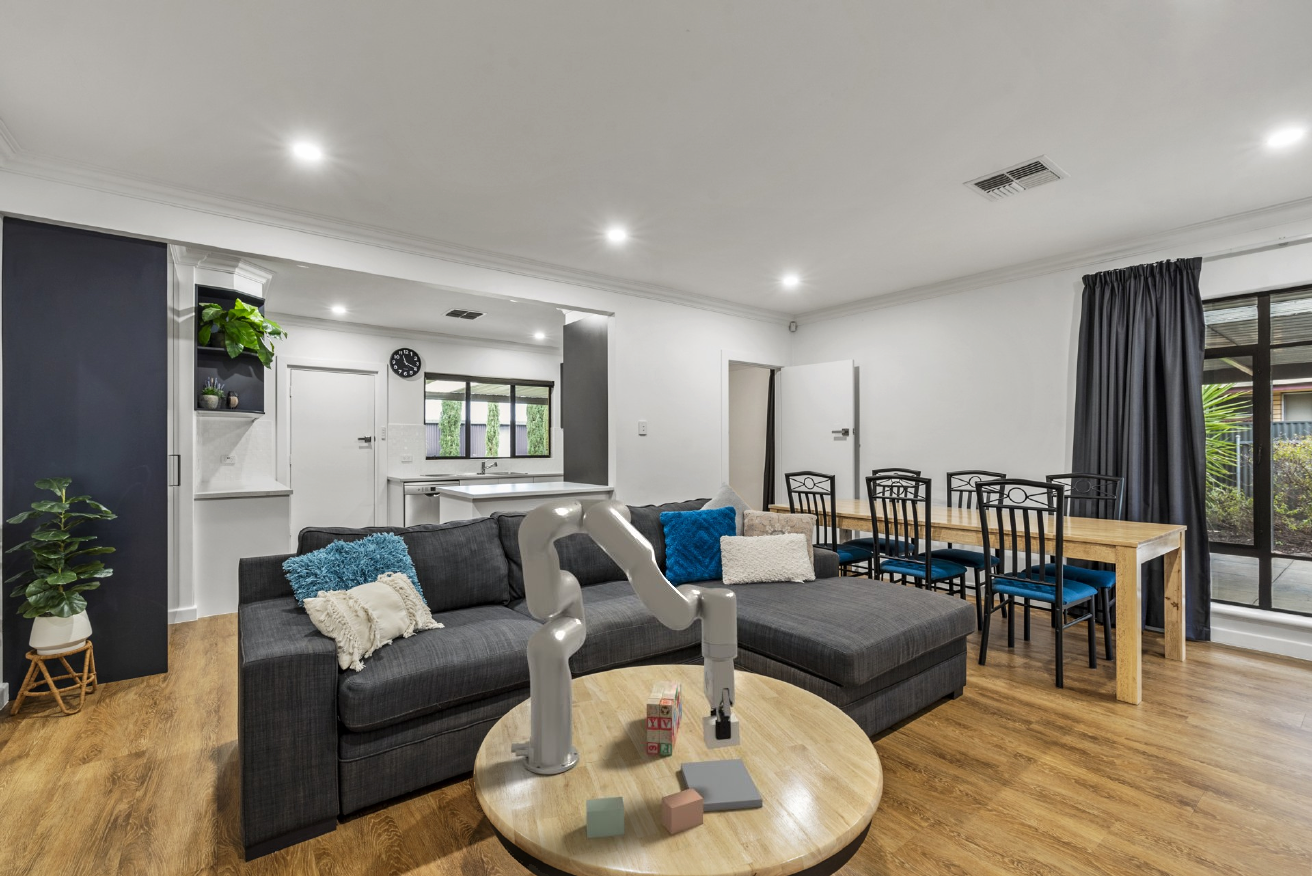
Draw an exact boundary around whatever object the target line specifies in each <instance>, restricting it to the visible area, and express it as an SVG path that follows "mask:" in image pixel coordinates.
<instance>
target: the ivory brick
mask: <svg viewBox="0 0 1312 876" xmlns="http://www.w3.org/2000/svg"><path fill="white" fill-rule="evenodd" d="M701 720H702V732H703V742H704V744H705V747H706V749H707V750H713V749H721V748H728V747H734V746H741V739H740V738H741V737H740V724H739V723H740V722H739V719H738V718H737V717H736V714H735V712H731V738H730V739H724V740H717V739H716V733H715V720H717V716H702V718H701Z"/></svg>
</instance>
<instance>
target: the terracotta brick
mask: <svg viewBox="0 0 1312 876" xmlns="http://www.w3.org/2000/svg"><path fill="white" fill-rule="evenodd" d="M661 824H662V825H663V826H664V827H665V829H667V830H668V831H669V833H670V834H671V835H674V834H677V833H681V832H683V831H685V830H688V829H691V828H695V827H697V826H699V825H703V824H704V812H703V798H702V797H701V796H700V795H699V794H698V793H697V792H696V791H695V790H694V789H693V788H691V789H688V790H687V789H685V790H682V791H679V792H675V793H672V794H669V795H666V796H662V797H661Z"/></svg>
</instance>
